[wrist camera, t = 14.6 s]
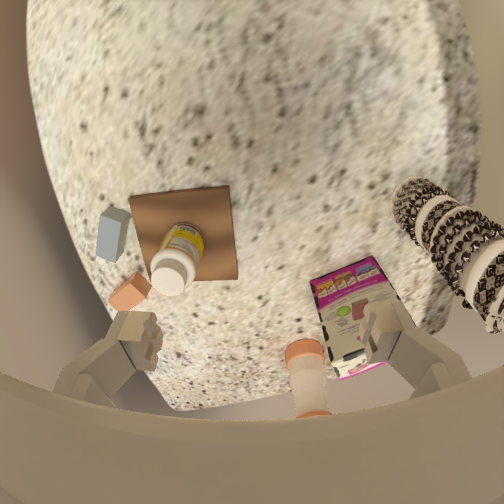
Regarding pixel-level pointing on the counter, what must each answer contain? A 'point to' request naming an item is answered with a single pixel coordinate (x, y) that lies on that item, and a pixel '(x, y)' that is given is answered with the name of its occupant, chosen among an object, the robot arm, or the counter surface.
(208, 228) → the board
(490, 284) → the decorative candle
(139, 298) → the brick terracotta
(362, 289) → the candy bar box
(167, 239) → the supplement bottle
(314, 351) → the pepper shaker
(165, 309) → the counter surface
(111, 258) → the brick blue
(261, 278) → the counter surface
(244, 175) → the counter surface
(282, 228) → the counter surface
